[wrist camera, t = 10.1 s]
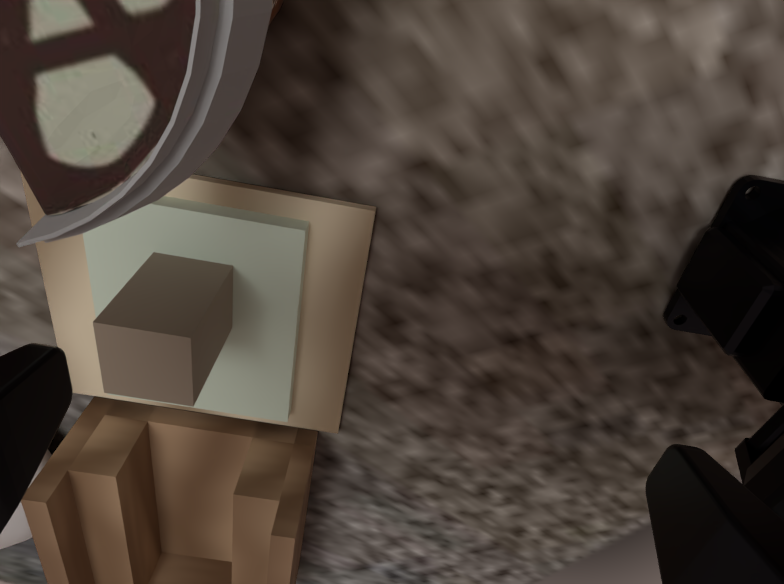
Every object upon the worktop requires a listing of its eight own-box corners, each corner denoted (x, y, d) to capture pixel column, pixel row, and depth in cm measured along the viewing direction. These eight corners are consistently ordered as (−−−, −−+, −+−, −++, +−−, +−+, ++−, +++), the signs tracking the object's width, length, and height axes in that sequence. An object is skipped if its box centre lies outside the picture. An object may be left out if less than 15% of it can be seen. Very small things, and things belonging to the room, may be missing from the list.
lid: (309, 221, 20) (277, 299, 16) (290, 409, 26) (263, 507, 21) (87, 182, 20) (-10, 251, 15) (116, 382, 25) (50, 476, 21)
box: (318, 431, 27) (295, 538, 22) (299, 564, 33) (278, 670, 29) (94, 396, 26) (20, 499, 22) (119, 538, 33) (67, 642, 28)
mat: (376, 206, 20) (375, 211, 20) (338, 427, 27) (337, 433, 26) (22, 143, 20) (15, 147, 19) (72, 385, 26) (67, 391, 26)
